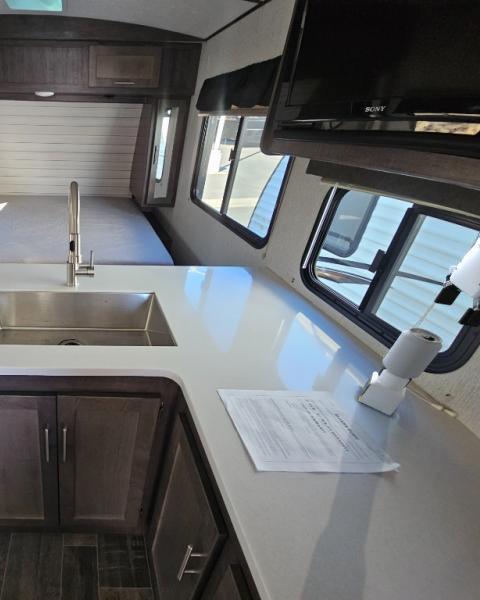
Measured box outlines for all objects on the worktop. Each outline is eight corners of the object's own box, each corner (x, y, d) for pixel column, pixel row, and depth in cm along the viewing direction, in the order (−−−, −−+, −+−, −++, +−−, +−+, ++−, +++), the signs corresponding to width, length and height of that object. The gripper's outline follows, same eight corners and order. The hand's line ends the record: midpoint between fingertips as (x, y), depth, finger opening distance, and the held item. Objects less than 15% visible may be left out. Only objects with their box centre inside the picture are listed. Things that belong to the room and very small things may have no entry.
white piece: (362, 388, 95) (383, 357, 89) (393, 402, 91) (417, 371, 85) (357, 401, 91) (380, 369, 84) (390, 416, 86) (415, 384, 80)
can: (408, 384, 80) (437, 346, 74) (374, 364, 86) (399, 328, 80) (423, 376, 83) (453, 339, 77) (390, 358, 89) (415, 322, 83)
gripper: (569, 262, 57) (502, 339, 65) (500, 233, 71) (452, 299, 79) (513, 255, 59) (455, 330, 68) (457, 228, 73) (415, 293, 82)
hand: (454, 313), depth 74 cm, fingers open, 9 cm apart
